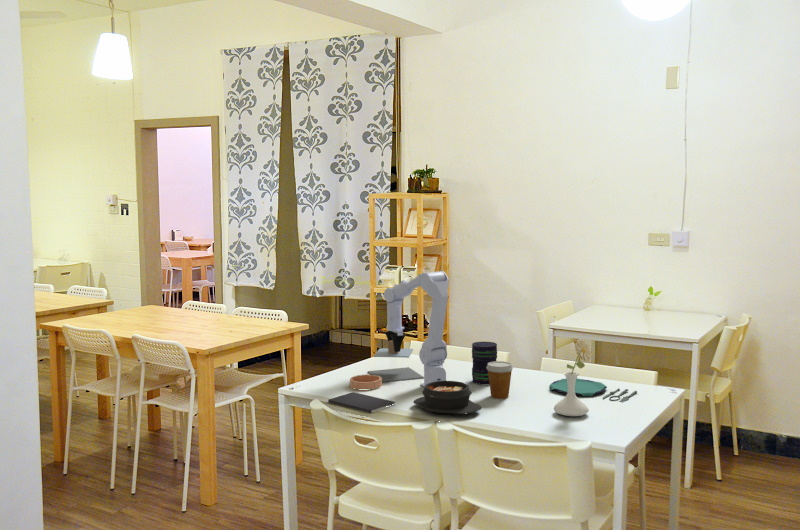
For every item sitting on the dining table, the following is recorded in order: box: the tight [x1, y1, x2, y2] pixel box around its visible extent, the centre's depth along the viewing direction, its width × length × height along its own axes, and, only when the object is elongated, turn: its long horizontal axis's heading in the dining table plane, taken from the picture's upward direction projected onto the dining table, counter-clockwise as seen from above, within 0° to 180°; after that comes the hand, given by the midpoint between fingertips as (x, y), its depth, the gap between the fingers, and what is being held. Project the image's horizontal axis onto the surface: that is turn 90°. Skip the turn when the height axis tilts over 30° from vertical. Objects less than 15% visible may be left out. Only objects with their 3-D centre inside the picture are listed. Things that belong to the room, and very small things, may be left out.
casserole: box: [413, 380, 482, 415], centre depth 254 cm, size 25×19×8 cm
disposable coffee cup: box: [486, 360, 514, 400], centre depth 269 cm, size 10×10×12 cm
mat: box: [367, 366, 424, 383], centre depth 303 cm, size 18×18×1 cm
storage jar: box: [471, 341, 498, 386], centre depth 290 cm, size 10×10×15 cm
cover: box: [373, 340, 414, 359], centre depth 302 cm, size 14×14×5 cm
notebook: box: [327, 391, 396, 414], centre depth 263 cm, size 13×2×21 cm
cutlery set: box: [548, 377, 638, 403], centre depth 274 cm, size 20×30×2 cm, turn 52°
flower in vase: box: [553, 338, 592, 417], centre depth 246 cm, size 13×11×25 cm
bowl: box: [349, 374, 383, 390], centre depth 286 cm, size 12×12×3 cm
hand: (394, 350), depth 302 cm, fingers closed on cover, 5 cm apart
